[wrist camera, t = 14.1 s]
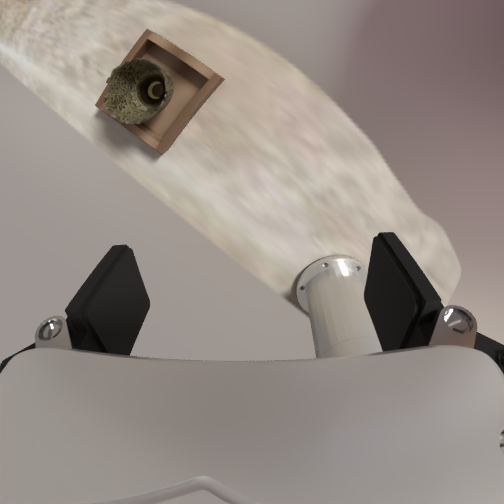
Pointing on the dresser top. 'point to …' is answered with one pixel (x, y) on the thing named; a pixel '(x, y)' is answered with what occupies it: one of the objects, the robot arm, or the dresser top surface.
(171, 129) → the box
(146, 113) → the olive round vessel
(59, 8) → the dresser top surface
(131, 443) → the robot arm
